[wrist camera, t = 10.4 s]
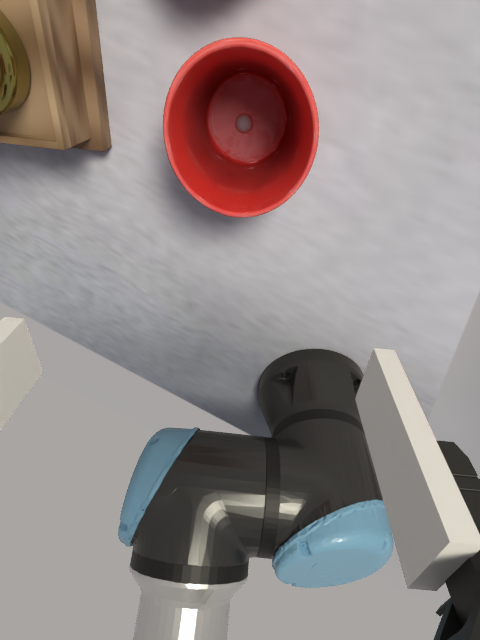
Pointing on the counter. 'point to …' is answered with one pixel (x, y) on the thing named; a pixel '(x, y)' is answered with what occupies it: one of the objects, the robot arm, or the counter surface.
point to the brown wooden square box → (59, 77)
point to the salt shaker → (12, 68)
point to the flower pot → (240, 127)
